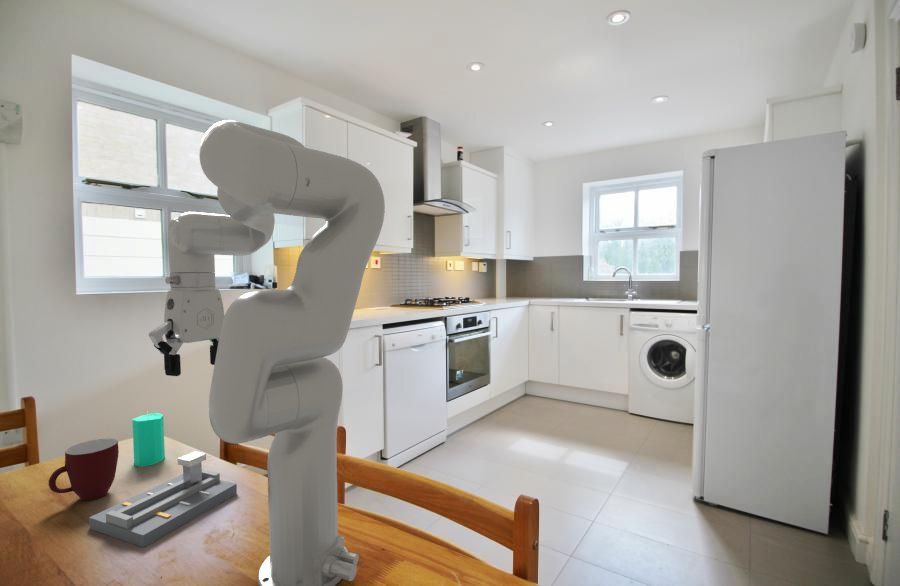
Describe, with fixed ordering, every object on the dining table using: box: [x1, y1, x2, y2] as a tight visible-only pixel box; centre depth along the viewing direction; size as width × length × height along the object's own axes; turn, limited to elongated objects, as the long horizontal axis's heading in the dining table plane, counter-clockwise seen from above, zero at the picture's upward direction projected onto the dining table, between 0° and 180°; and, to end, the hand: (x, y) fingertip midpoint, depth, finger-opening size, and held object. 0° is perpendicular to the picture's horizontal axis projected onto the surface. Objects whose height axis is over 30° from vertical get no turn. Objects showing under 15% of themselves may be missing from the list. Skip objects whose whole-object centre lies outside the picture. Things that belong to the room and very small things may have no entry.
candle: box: [131, 410, 166, 467], centre depth 101 cm, size 6×6×12 cm
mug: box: [48, 438, 119, 502], centre depth 84 cm, size 10×8×10 cm
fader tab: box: [177, 450, 207, 488], centre depth 84 cm, size 3×4×6 cm
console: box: [88, 468, 238, 548], centre depth 80 cm, size 14×18×4 cm
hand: (196, 369), depth 84 cm, fingers open, 9 cm apart
